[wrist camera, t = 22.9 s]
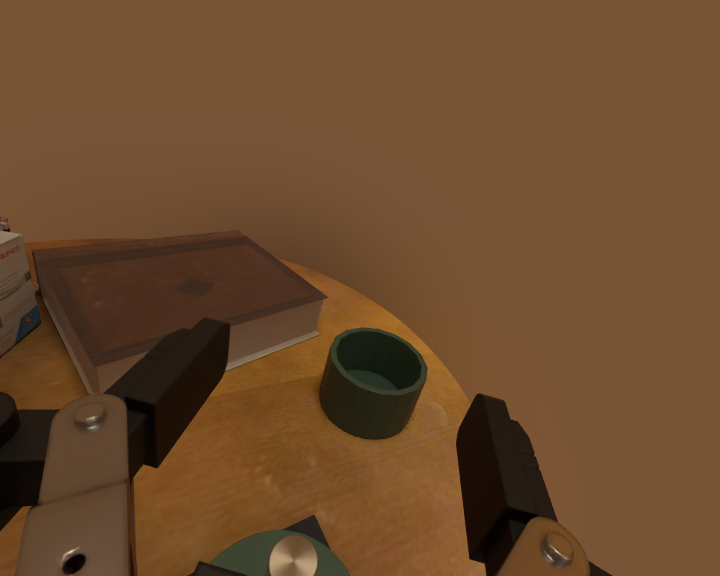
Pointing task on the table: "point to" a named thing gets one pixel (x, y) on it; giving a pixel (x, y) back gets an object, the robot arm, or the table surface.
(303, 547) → the tin lid
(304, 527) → the trivet
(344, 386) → the tin
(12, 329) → the ink box
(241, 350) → the book
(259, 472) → the table surface
